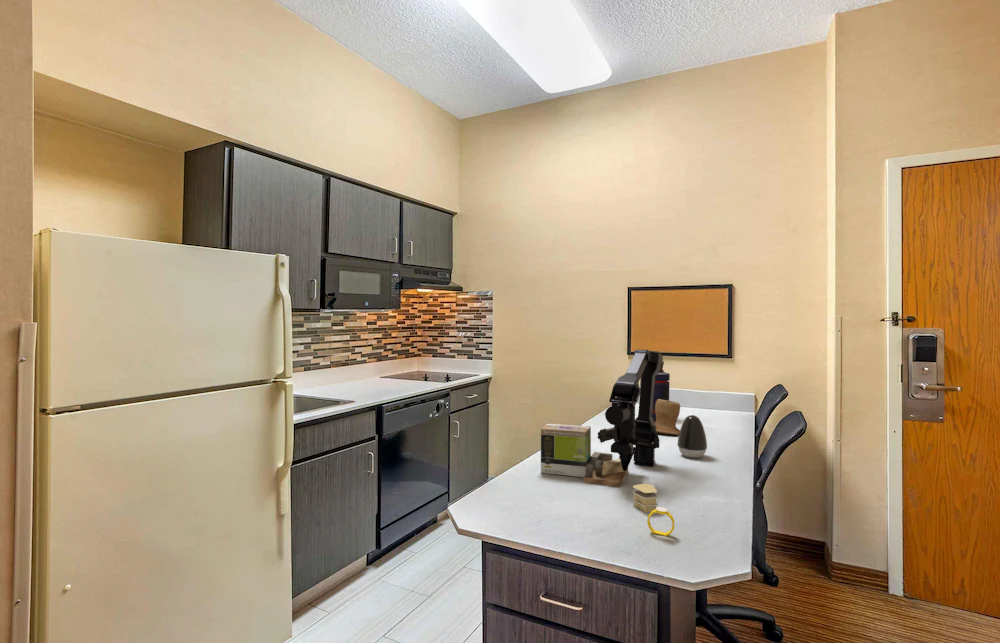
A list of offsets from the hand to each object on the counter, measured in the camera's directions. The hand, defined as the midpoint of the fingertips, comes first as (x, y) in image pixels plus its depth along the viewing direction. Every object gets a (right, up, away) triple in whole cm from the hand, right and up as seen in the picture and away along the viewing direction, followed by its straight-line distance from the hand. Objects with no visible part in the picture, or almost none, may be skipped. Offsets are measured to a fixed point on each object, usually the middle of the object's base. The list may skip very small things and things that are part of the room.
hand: (624, 470), depth 158 cm
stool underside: (-5, -3, +2) cm, 6 cm away
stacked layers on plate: (0, -4, -23) cm, 23 cm away
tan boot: (+33, -3, +65) cm, 73 cm away
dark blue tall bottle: (+37, -3, +90) cm, 97 cm away
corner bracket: (-6, -1, +7) cm, 9 cm away
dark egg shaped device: (+32, -3, +28) cm, 42 cm away
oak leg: (-4, -1, +1) cm, 5 cm away
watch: (-1, -3, -40) cm, 40 cm away
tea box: (-18, -3, +7) cm, 19 cm away
